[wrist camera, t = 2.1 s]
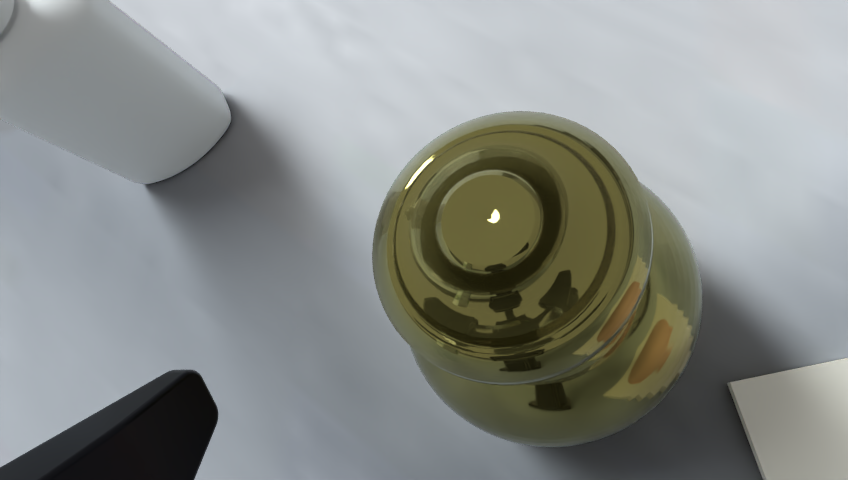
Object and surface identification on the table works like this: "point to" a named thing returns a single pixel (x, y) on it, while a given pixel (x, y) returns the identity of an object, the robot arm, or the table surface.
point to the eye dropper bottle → (105, 88)
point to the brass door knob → (537, 279)
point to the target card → (797, 421)
